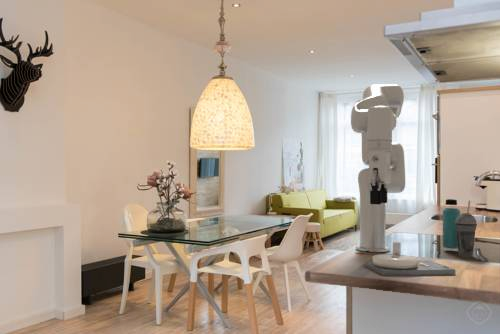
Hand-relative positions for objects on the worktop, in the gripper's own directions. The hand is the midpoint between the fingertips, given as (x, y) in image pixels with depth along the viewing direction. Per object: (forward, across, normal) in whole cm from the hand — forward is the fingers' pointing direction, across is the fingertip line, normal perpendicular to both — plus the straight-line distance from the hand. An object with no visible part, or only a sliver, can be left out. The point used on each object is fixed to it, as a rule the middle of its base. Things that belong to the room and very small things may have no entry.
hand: (378, 203), depth 141 cm
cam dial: (+18, 0, -5) cm, 19 cm away
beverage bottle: (+20, +49, -17) cm, 56 cm away
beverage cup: (+20, +40, -22) cm, 50 cm away
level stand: (+20, +2, -8) cm, 22 cm away
